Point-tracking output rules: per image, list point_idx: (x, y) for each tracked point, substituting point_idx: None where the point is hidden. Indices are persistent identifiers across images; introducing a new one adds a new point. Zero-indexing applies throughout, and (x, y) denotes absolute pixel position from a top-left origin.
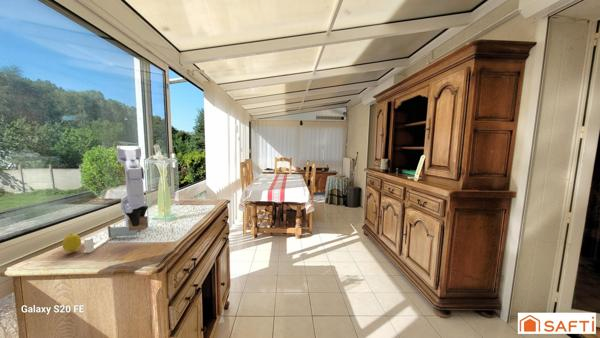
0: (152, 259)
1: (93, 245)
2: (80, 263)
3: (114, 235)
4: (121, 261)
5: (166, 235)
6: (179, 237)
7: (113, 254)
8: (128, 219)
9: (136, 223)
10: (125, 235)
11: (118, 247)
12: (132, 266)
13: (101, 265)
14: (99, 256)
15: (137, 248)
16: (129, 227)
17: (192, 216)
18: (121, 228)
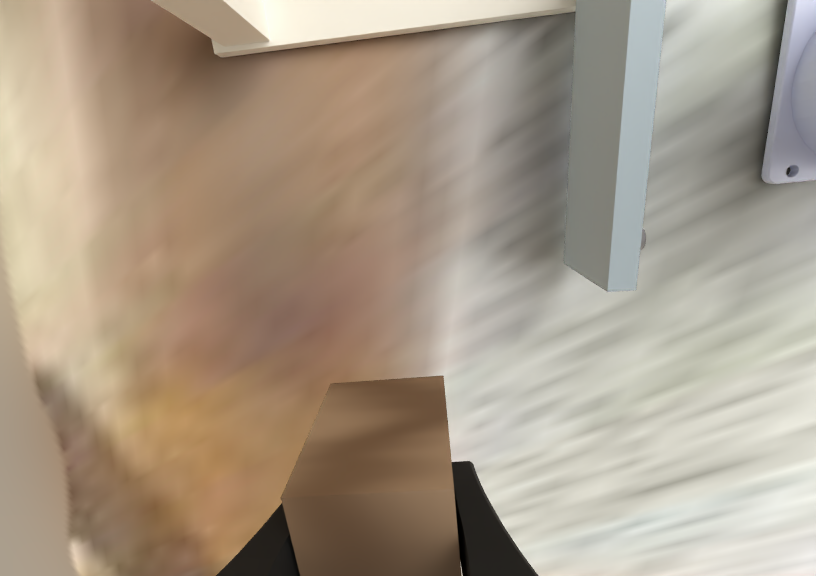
0: (157, 548)
1: (256, 29)
2: (40, 145)
3: (580, 29)
4: (112, 405)
5: (551, 481)
6: None
7: (201, 289)
8: (284, 500)
9: None
10: (570, 159)
11: (327, 243)
12: (69, 493)
13: (45, 319)
14: (160, 205)
15: (305, 397)
16: (321, 415)
17: None
18: (610, 109)
